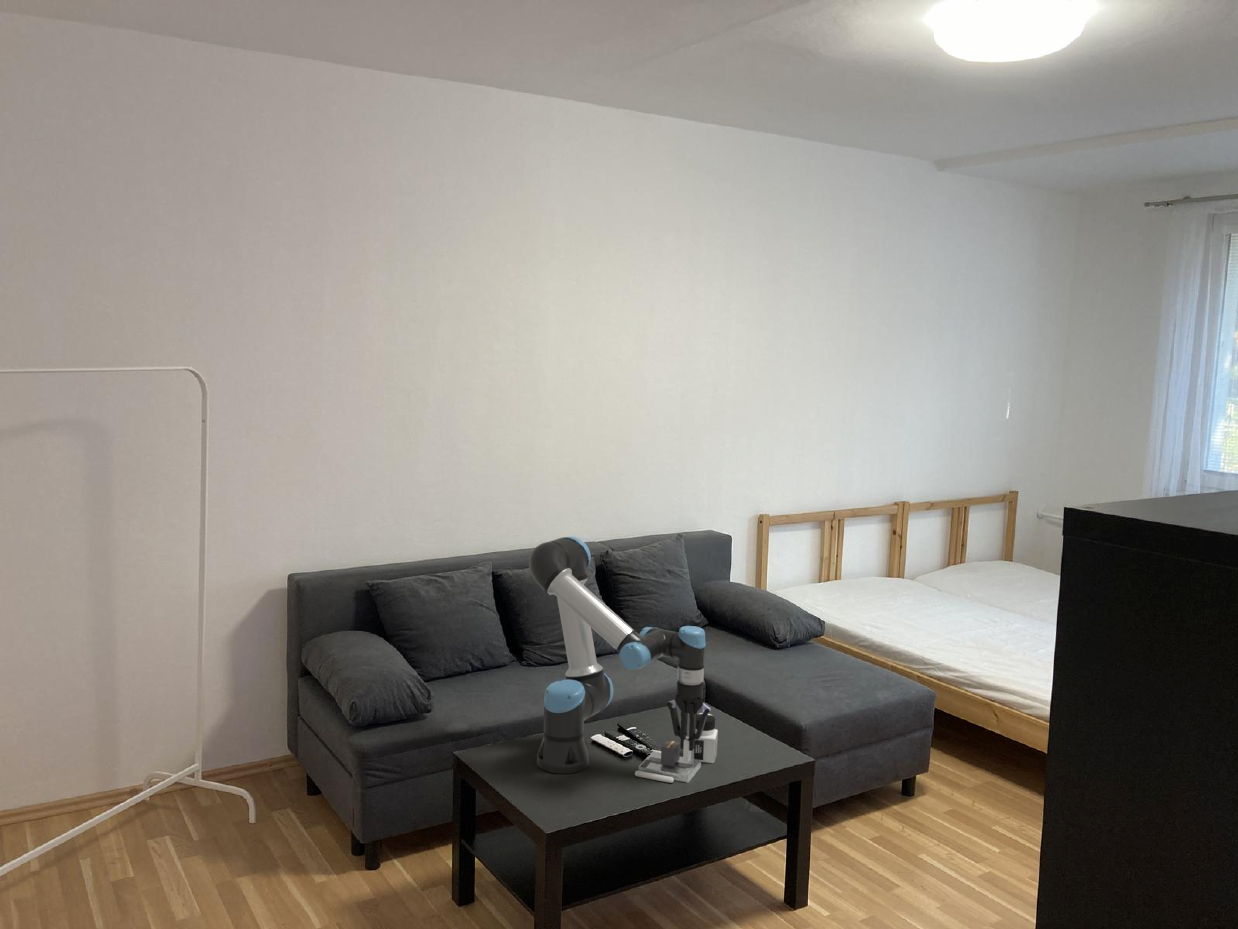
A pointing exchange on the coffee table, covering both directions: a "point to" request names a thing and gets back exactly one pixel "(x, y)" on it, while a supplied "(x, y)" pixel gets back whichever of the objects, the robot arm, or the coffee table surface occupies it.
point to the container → (706, 741)
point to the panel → (670, 767)
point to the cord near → (654, 776)
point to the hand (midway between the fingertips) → (686, 760)
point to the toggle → (670, 753)
